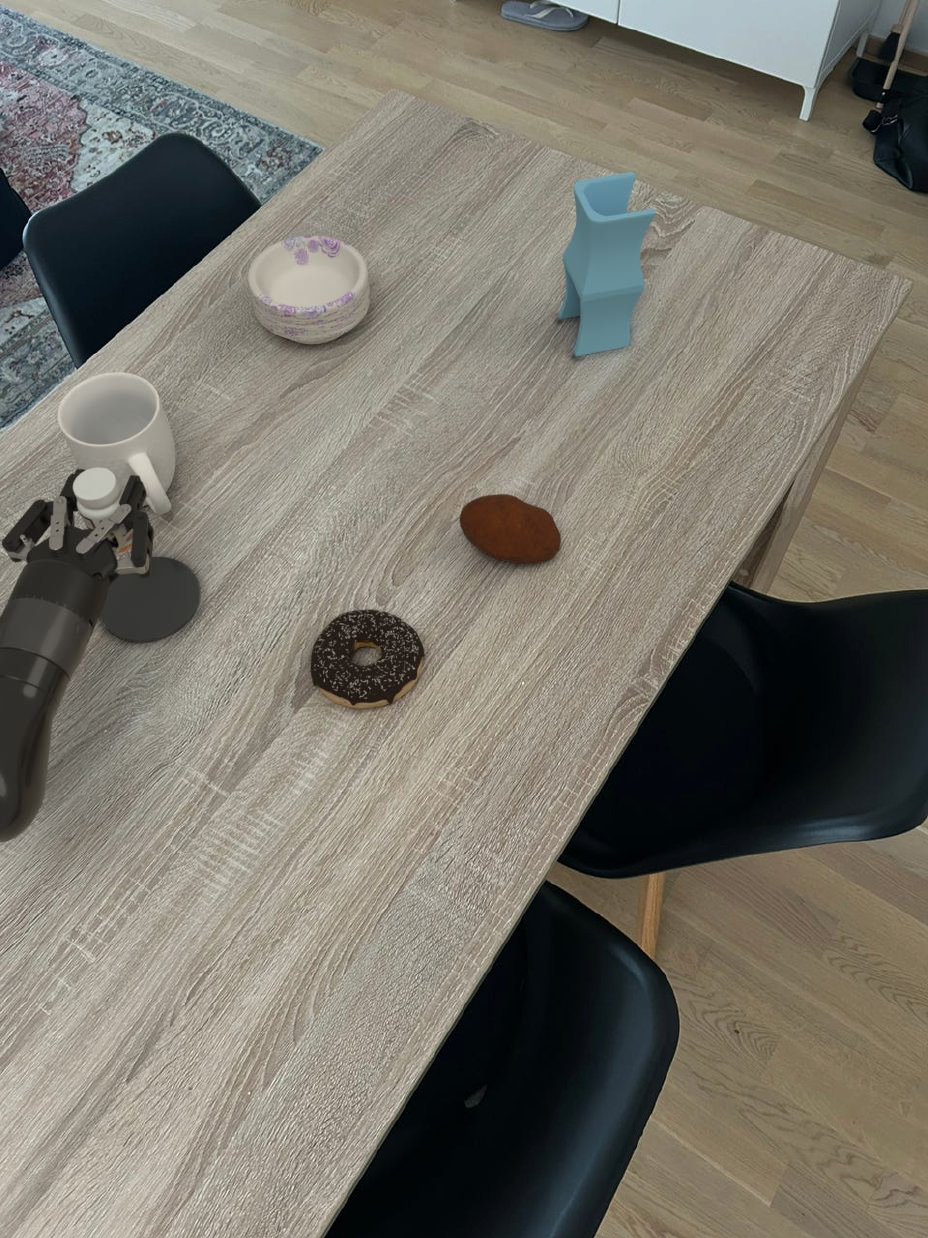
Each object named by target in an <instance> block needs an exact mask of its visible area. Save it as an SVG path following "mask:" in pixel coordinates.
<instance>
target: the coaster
mask: <svg viewBox="0 0 928 1238" xmlns="http://www.w3.org/2000/svg"><path fill="white" fill-rule="evenodd" d="M200 586H201V585H200V583H199V580H198V578H197V575H196V574H195V573H194V571H193V570H192V569H191V568H190V567H189V566H188V565H186V564H185V563H183V562H182V561H180V560H178V559H175V558H171V557H167V556H152V565H151V574H150V576H149V577H147V578H140V577H139V576H138V574H137V573H130V574H120V576H119V577H118V578H117V579H116V580H115V581H114V582H113V583H112V584H111V585H110V587H109V589H108V593H107V597H106V601H105V603H104V606H103V608H102V611H101V613H100V616H99V619H100V620H101V622H102V624H103V625H104V626H105V628H106V629H107V630H108V631H109V632H110V633H111V634H113V635H114V636H115V637H117V638H119V639H121V640H124V641H128V642H131V643H153V642H156V641H157V642H158V641H160V640H163V639H166V638H169V637H170V636H173V635H174V634H176V633H178V632H179V631H180V630H182V629H183V628H184V627H185V626H187V625H188V624H189V622H190V621H191V620H192V619H193V617H194V616H195V614H196V612H197V610H198V608H199V604H200V601H201V587H200Z"/></svg>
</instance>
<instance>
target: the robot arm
mask: <svg viewBox="0 0 928 1238" xmlns="http://www.w3.org/2000/svg"><path fill="white" fill-rule="evenodd" d="M84 471H86V470H85V469H80V468H76V469H75V471H74V473H71V474H69V475H68V476H67V478H66V481H65V483H64V484H63V486H62V489H61V491H60V494H59V495H58V496H57V497H55V498H54V499H53V500H50V501H46V500H45V499H40V498H39V499H37V500H34V502H33V503H32V504H31V505H30V506H29V508H28V509H27V510H26V511H25V512H24V513H23V515H22V516H21V517H20V518H19V520H18V521H17V522H16V523H15V524H14V526H13V527H12V528H11V529H10V530H9V532H8V533H7V534H6V535H5V536H4V538H2V541H1V545H2V547H3V549H4V551H5V552H6V554H7V555H8V557H9V559H10V560H11V561H12V562H13V563H20V562H22V561H24V562H26V564H25V565H24V567H23V568H22V570H21V572H20V574H19V576H18V578H17V580H16V583H15V585H14V587H13V589H12V592H11V593H10V596H9V598H8V599H7V602H6V603H5V606H4V609H3V611H2V612H1V614H0V844H1V843H5V842H9V841H12V840H14V839H15V838H18V837H19V836H20V835H21V834H23V833H24V832H25V831H26V830H27V829H28V828H29V827H30V826H31V824H32V823H33V822H34V820H35V819H36V817H37V816H38V814H39V813H40V810H41V808H42V805H43V803H44V799H45V796H46V789H47V781H48V770H49V761H50V753H51V744H52V731H53V723H54V719H55V718H56V716H57V713H58V711H59V708H60V705H61V703H62V701H63V698H64V696H65V693H66V691H67V688H68V685H69V684H70V682H71V680H72V677H73V676H74V674H75V672H76V670H77V669H78V667H79V665H80V664H81V662H82V660H83V658H84V655H85V653H86V650H87V648H88V645H89V643H90V640H91V637H92V636H93V633H94V630H95V628H96V626H97V623H98V621H99V619H100V613H101V611H102V608H103V606H104V603H105V601H106V597H107V593H108V589H109V587H110V585H111V584H112V583H113V582H114V581H115V580H116V579H117V578H118V577H119V576H120V574H130V573H137V574H138V576H139V577H140V578H147V577H149V576H150V574H151V565H152V557H153V551H154V535H155V529H154V527H153V525H152V524H151V521H150V519H149V515H148V513H147V512H146V511H143V510H142V508H143V506H142V505H143V503H144V501H145V498H146V496H147V493H146V489H145V487H144V484H143V482H142V481H141V479H140V477H139V476H137V475H130V477H129V480H128V482H127V484H126V487H125V489H124V492H123V494H122V496H121V499H120V501H119V504H120V507H119V508H118V509H117V510H116V511H115V512H114V513H113V514H112V515H111V517H110V518H108V519H107V518H105V519H103V520H102V521H101V523H100V524H99V525H98V526H97V527H96V528H95V529H88V528H80V527H77V526H75V523H76V522H75V519H76V518H75V512H76V513H77V512H78V513H79V511H78V508H77V498H76V496H75V494H74V491H73V483H74V481H75V479H76V478H77V477H78V476H79V475H80V474H81V473H82V472H84ZM49 528H50V534H49V536H48V537H47V538H45V539H44V540H42V541H41V542H39V541H40V539H41V538H42V537H43V535H44V534H45V533H46V532H47V530H48V529H49ZM132 532H133V538H132V548H128V549H127V552H126V553H125V554H124V555H123V557H122V558H121V559H119V560H118V558H117V556H118V555H117V554H118V553H119V552H120V550H121V549H122V548H123V547H124V546H125V543H126V539H127V538H128V536H129V535H130V534H131V533H132ZM107 536H108V538H109V540H108V538H107ZM38 542H39V543H38ZM37 543H38V544H37Z"/></svg>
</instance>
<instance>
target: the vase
mask: <svg viewBox="0 0 928 1238" xmlns="http://www.w3.org/2000/svg"><path fill="white" fill-rule="evenodd" d="M635 180H636V173H635V172H634V171H628V172H622V173H617V174H610V175H604V176H599V177H592V178H586V179H582V180H579V181H577V182H575V184H574V185H573V196H574V203H575V216H576V218H575V227H574V230H573V233H572V237H571V239H570V240H569V242H568V245H567V247H566V248H565V250H564V252H563V255H562V263H563V269H564V276H565V277H564V278H565V293H564V298H563V302H562V305H561V308H560V309H559V312H558V314H557V317H558V319H559V320H565V319H571V318H575V317H580V318H579V326H578V331H577V337H576V340H575V346H574V349H573V354H574V356H575V357H580V356H586V355H592V354H597V353H603V352H608V351H613V350H617V349H622V348H623V349H624V348H626V347H628V346H629V345H630V344H631V322H632V321H631V320H632V316H633V312H634V310H635V307H636V306H637V303H638V301H639V300H640V299H641V297H642V294H643V292H644V290H645V280H644V276H643V271H642V263H641V251H642V245H643V241H644V238H645V236H646V234H647V231H648V230H649V227H650V226H651V224H652V222H653V220H654V219H655V217H656V215H657V212H656V210H655V208H648V209H642V210H636V211H632V212H627V211H628V208H629V202H630V198H631V195H632V192H633V187H634V185H635Z"/></svg>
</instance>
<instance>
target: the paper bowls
mask: <svg viewBox="0 0 928 1238" xmlns="http://www.w3.org/2000/svg"><path fill="white" fill-rule="evenodd" d="M247 286H248V289H249V290H248V291H249V297H250V301H251V307H252V309H253V312H254V315H255V317H256V319H257V321H258V322H259V323H260V324H261V325H262V327H264V328H265V329H266V330H268V331H269V332H271V333H272V334H274V335H276V336H280V337H282V338H285V339H287V340H290V341H293V342H295V343H298V344H303V345H321V344H325V343H329V342H332V341H334V340H337V339H338V338H339V337H341V336H343V335H344V334H345V333H348V332H349V331H351V330H352V329H354V328H355V327H356V326H358V324H360V323H361V322H362V320H363V319H364V318H365V317H366V316H367V314H368V312H369V308H370V305H371V289H370V278H369V270H368V265H367V263H366V260H365V258H364V257H363V256H362V254H361V253H360V252H359V251H358V250H357V249H356V248H355V247H353V246H352V245H351V244H349V243H347V242H346V241H343V240H340V239H338V238H334V237H331V236H325V235H324V236H323V235H300V236H293V237H290V238H286V239H283V240H280V241H277V242H275V243H273V244H271V245H270V246H268V247H266V248H264V249H263V250H262V251H261V252H260V253H258V254H257V256H256V257H255V258H254V259H253V261H251V265H250V266H249V269H248V271H247Z"/></svg>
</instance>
